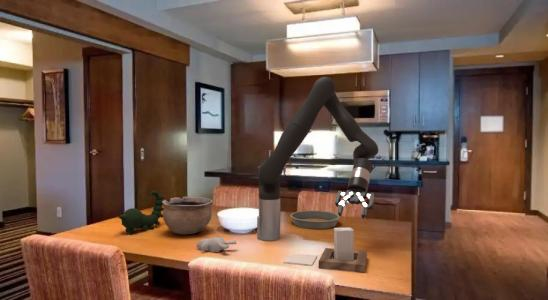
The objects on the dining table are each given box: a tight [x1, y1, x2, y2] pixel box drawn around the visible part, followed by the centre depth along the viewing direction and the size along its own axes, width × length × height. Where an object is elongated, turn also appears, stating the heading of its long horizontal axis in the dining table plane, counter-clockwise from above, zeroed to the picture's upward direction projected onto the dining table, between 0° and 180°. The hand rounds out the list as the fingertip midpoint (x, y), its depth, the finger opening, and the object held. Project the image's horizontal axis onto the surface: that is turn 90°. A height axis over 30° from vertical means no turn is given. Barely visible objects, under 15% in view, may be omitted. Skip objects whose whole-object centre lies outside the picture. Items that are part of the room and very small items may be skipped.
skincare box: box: [333, 227, 355, 261], centre depth 131 cm, size 6×4×12 cm
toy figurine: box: [117, 190, 165, 235], centre depth 176 cm, size 9×19×25 cm
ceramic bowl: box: [162, 196, 213, 236], centre depth 172 cm, size 22×22×15 cm
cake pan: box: [289, 210, 341, 230], centre depth 190 cm, size 25×25×4 cm
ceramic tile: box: [283, 252, 318, 267], centre depth 135 cm, size 10×10×1 cm
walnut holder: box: [318, 247, 368, 274], centre depth 131 cm, size 15×15×2 cm
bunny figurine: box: [195, 236, 238, 253], centre depth 146 cm, size 10×5×15 cm
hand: (351, 216), depth 139 cm, fingers open, 8 cm apart
